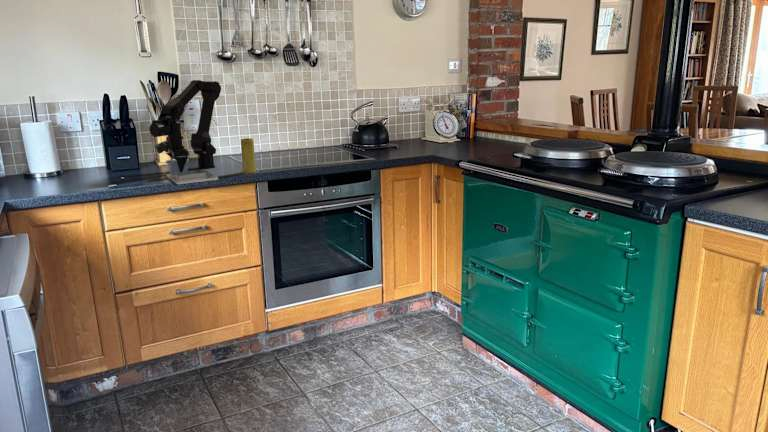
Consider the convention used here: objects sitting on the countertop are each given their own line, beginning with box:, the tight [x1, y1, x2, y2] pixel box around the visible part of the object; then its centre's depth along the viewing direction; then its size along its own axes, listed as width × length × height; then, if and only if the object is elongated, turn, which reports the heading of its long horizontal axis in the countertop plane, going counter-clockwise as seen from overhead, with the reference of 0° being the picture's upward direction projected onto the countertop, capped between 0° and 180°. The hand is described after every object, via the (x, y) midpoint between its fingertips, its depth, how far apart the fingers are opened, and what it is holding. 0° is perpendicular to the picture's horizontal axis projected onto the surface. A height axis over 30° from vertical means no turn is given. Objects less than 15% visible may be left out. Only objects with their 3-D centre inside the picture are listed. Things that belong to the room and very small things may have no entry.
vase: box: [240, 138, 258, 174], centre depth 245 cm, size 6×6×14 cm
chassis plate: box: [165, 169, 219, 185], centre depth 236 cm, size 16×20×3 cm
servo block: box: [165, 158, 190, 174], centre depth 246 cm, size 9×4×7 cm, turn 122°
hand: (178, 170), depth 246 cm, fingers open, 9 cm apart
